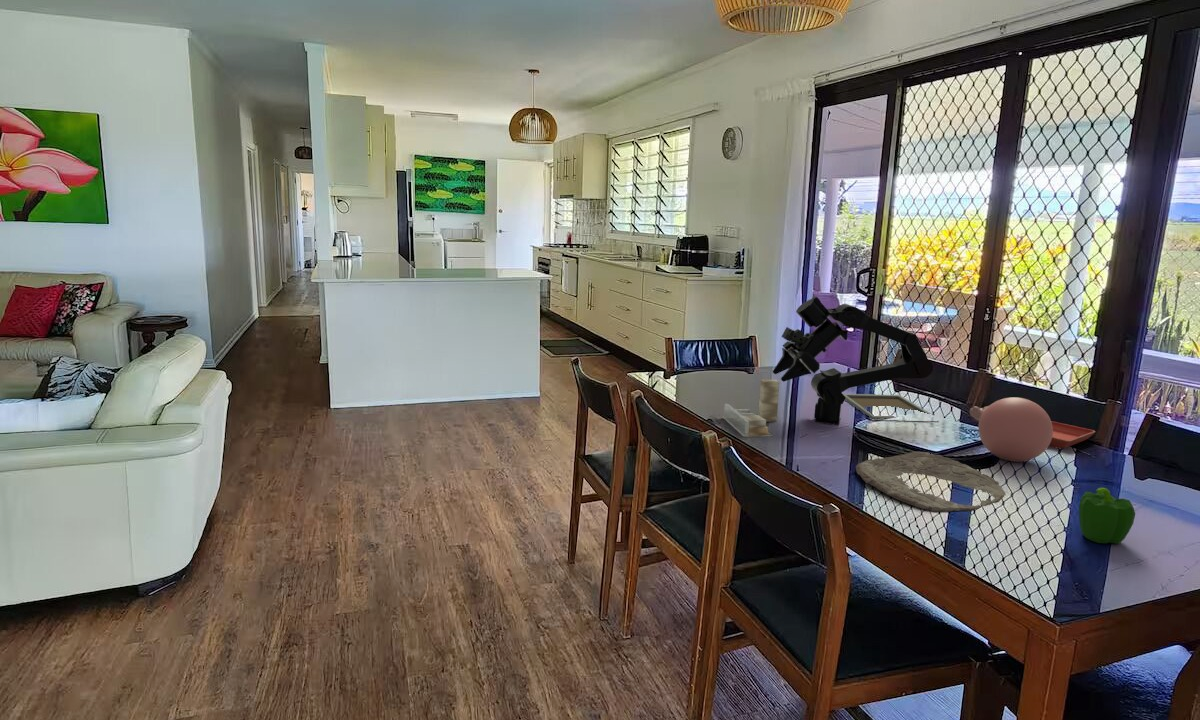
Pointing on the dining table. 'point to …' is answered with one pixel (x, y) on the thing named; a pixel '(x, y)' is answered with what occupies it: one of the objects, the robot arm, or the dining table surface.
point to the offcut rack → (739, 420)
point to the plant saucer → (1068, 435)
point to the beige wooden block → (769, 399)
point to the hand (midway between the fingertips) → (777, 376)
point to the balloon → (1014, 428)
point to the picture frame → (880, 402)
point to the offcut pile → (756, 424)
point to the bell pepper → (1105, 517)
